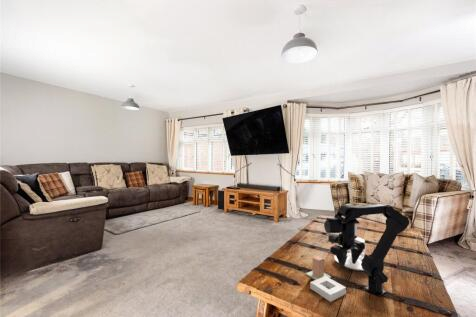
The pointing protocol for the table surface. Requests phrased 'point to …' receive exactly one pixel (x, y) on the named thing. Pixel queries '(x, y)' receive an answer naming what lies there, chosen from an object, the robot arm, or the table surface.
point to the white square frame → (329, 294)
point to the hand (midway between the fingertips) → (348, 265)
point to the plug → (318, 266)
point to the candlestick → (349, 257)
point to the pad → (315, 276)
